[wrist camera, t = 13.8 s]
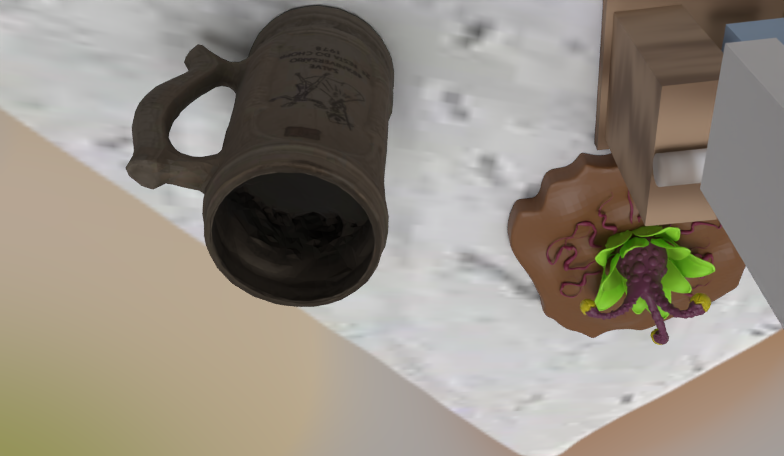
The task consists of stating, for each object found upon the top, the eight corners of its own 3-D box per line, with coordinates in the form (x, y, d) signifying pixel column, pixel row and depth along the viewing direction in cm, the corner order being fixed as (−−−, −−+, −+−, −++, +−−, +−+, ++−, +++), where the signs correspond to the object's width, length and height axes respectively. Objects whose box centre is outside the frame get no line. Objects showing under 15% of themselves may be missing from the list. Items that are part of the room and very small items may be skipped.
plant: (766, 272, 66) (825, 366, 57) (559, 339, 71) (584, 435, 62) (726, 93, 55) (792, 175, 46) (485, 187, 60) (502, 278, 51)
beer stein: (419, 24, 51) (407, 180, 35) (387, 152, 58) (364, 333, 42) (201, -28, 50) (85, 109, 34) (193, 109, 56) (92, 279, 40)
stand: (603, -7, 50) (665, 87, 39) (861, -37, 49) (1000, 51, 38) (594, 143, 57) (644, 258, 46) (818, 120, 56) (924, 233, 45)
